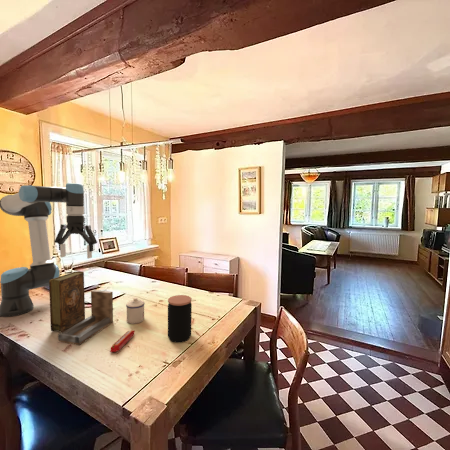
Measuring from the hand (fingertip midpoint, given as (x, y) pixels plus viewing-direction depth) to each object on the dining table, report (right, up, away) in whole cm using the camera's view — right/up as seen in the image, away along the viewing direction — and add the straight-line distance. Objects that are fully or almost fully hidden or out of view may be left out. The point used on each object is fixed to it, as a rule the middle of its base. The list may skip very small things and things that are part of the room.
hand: (76, 257), depth 127 cm
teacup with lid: (+27, -34, +7) cm, 43 cm away
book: (-3, -34, -1) cm, 34 cm away
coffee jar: (+53, -36, -10) cm, 65 cm away
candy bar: (+30, -36, -16) cm, 49 cm away
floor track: (+9, -34, -6) cm, 36 cm away
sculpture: (-38, -29, +50) cm, 69 cm away
